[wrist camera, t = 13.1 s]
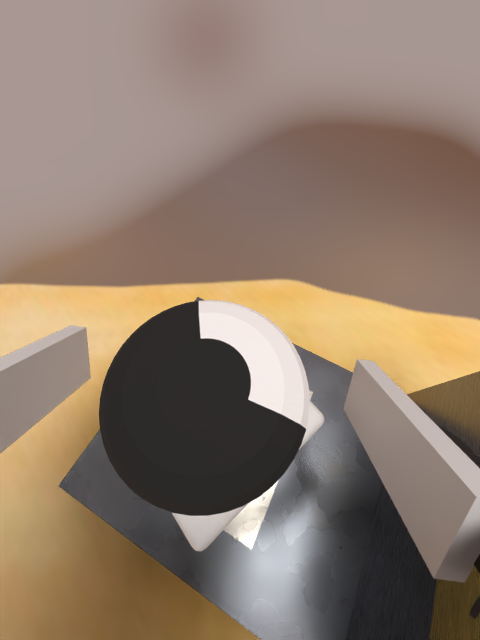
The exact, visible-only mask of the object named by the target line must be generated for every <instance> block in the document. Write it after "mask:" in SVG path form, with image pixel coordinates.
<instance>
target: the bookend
mask: <svg viewBox="0 0 480 640" xmlns="http://www.w3.org/2000/svg"><path fill="white" fill-rule="evenodd" d="M195 301H204V300H203V299H201V298H199V297H197V299H196V300H195ZM195 301H194V302H195ZM292 344H293V343H292ZM293 345H294V347H295V349H296V351H297V353H298V354H299V356H300V358H301V361H302V364H303V366H304V369H305V372H306V376H307V381H308V386H309V396H310V401H311V402H312V403H313V404H314V405H315V406H316V407H317V409H318V410H319V411H320V412H321V413H322V414H323V416H324V422H323V424H322V426H321V427H320V428H319V429H318V430H317V431H316V432H315V433H314V434H313V435H312V436H311V438H310V439H309V440H308V441H307V442H306V443H305V444H304V445H303V446H302V447H301V448H300V449H299V450H298V452H297V455H296V457H295V459H294V460H293V462H292V463H291V465H290V466H289V468H288V469H287V471H286V472H285V473H284V475H283V476H282V477H281V478H280V479H279V480H278V481H277V482H276V483H275V484H274V485H273V486H272V487H271V488H270V489H269V490H267V491H266V492H265V493H264V494H262V495H261V496H260V497H258V498H257V499H255V500H253V501H251V502H250V503H248V505H247V506H246V507H245V508H244V509H243V510H242V511H241V512H240V513H239V514H238V515H237V516H236V517H235V518H234V519H233V520H232V522H231V523H230V524H229V525H228V526H227V527H226V528H225V529H224V530H223V531H222V532H221V533H220V534H219V535H218V536H217V537H216V539H215V540H214V541H213V542H212V543H211V544H210V545H209V546H208V547H207V548H206V549H204V550H203V551H195V550H194V549H193V548H192V546H191V545H190V543H189V541H188V540H187V538H186V536H185V535H184V533H183V531H182V530H181V528H180V526H179V524H178V523H177V521H176V519H175V518H174V516H173V514H172V513H171V512H169V511H166V510H163V509H161V508H158V507H156V506H154V505H152V504H150V503H149V502H147V501H145V500H143V499H142V498H141V497H139V496H138V495H137V494H136V493H135V492H133V491H132V490H131V489H130V488H129V487H128V486H127V485H126V484H125V483H124V481H123V480H122V479H121V478H120V477H119V476H118V474H117V472H116V471H115V469H114V467H113V466H112V464H111V462H110V460H109V458H108V455H107V453H106V450H105V448H104V445H103V440H102V436H101V432H100V430H99V431H98V433H97V434H96V436H95V437H94V438H93V440H92V441H91V442H90V444H89V445H88V446H87V448H86V449H85V450H84V452H83V453H82V454H81V456H80V457H79V459H78V460H77V461H76V463H75V464H74V465H73V467H72V468H71V469H70V471H69V472H68V473H67V475H66V476H65V478H64V479H63V480H62V482H61V483H60V484H59V487H61V488H62V489H63V490H65V491H66V492H67V493H68V494H70V495H71V496H72V497H74V498H75V499H76V500H78V501H79V502H80V503H82V504H83V505H84V506H86V507H87V508H88V509H90V510H91V511H92V512H94V513H95V514H96V515H97V516H99V517H100V518H101V519H103V520H104V521H105V522H107V523H108V524H109V525H111V526H112V527H113V528H115V529H116V530H117V531H119V532H120V533H121V534H122V535H124V536H125V537H126V538H128V539H129V540H130V541H132V542H133V543H134V544H136V545H137V546H138V547H140V548H141V549H142V550H144V551H145V552H146V553H147V554H149V555H150V556H151V557H153V558H154V559H155V560H157V561H158V562H159V563H161V564H162V565H163V566H165V567H166V568H167V569H169V570H170V571H171V572H172V573H174V574H175V575H176V576H178V577H179V578H180V579H182V580H183V581H184V582H186V583H187V584H188V585H190V586H191V587H192V588H194V589H195V590H196V591H198V592H199V593H200V594H201V595H203V596H204V597H205V598H207V599H208V600H209V601H211V602H212V603H213V604H215V605H216V606H217V607H219V608H220V609H221V610H223V611H224V612H225V613H226V614H228V615H229V616H230V617H232V618H233V619H234V620H236V621H237V622H238V623H240V624H241V625H242V626H244V627H245V628H246V629H248V630H249V631H250V632H251V633H253V634H254V635H255V636H257V637H258V638H259V639H261V640H480V613H479V615H478V616H477V618H476V619H474V618H473V617H472V616H470V615H469V614H470V611H471V608H472V606H473V605H474V603H475V601H476V600H477V598H478V597H479V595H480V573H479V572H478V570H477V569H476V567H475V566H474V568H473V569H472V571H471V573H470V574H469V576H468V578H467V579H466V581H465V583H464V582H457V581H450V580H442V579H435V578H433V576H432V574H431V573H430V571H429V569H428V567H427V565H426V563H425V561H424V559H423V558H422V556H421V554H420V552H419V550H418V548H417V546H416V544H415V542H414V541H413V539H412V537H411V535H410V533H409V531H408V529H407V527H406V526H405V524H404V522H403V520H402V518H401V516H400V514H399V512H398V510H397V509H396V507H395V505H394V503H393V501H392V499H391V497H390V495H389V494H388V492H387V490H386V488H385V486H384V484H383V482H382V480H381V478H380V477H379V475H378V473H377V471H376V469H375V467H374V465H373V463H372V462H371V460H370V458H369V456H368V454H367V452H366V450H365V448H364V446H363V445H362V443H361V441H360V439H359V437H358V435H357V433H356V431H355V430H354V428H353V426H352V424H351V422H350V420H349V418H348V416H347V414H346V413H345V411H344V405H345V401H346V398H347V394H348V390H349V387H350V383H351V379H352V376H353V373H352V372H350V371H348V370H346V369H344V368H342V367H340V366H338V365H336V364H334V363H332V362H330V361H328V360H326V359H324V358H322V357H320V356H318V355H316V354H313V353H311V352H309V351H307V350H305V349H303V348H301V347H299V346H297V345H295V344H293ZM407 396H408V397H409V398H410V399H411V400H412V401H413V402H414V403H415V404H416V405H417V406H418V407H419V408H420V409H421V410H422V411H423V412H424V413H425V414H426V415H427V416H428V417H429V418H430V419H431V420H432V421H433V422H434V423H435V424H436V425H437V426H438V427H443V428H444V429H446V430H447V431H449V432H450V433H452V434H453V435H455V436H456V437H458V438H459V439H461V440H462V441H463V442H464V443H465V444H466V445H467V446H468V447H469V448H470V449H471V450H472V451H473V452H474V455H477V456H478V457H479V458H480V371H479V372H476V373H473V374H470V375H467V376H464V377H460V378H457V379H454V380H451V381H448V382H445V383H442V384H438V385H435V386H432V387H429V388H426V389H423V390H420V391H417V392H413V393H410V394H407Z"/></svg>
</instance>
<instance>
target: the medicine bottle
mask: <svg viewBox="0 0 480 640" xmlns="http://www.w3.org/2000/svg"><path fill="white" fill-rule="evenodd" d="M99 421H100V432H101V436H102V440H103V445H104V448H105V450H106V453H107V455H108V458H109V460H110V462H111V464H112V466H113V467H114V469H115V471H116V472H117V474H118V476H119V477H120V478H121V479H122V480H123V481H124V483H125V484H126V485H127V486H128V487H129V488H130V489H131V490H132V491H133V492H135V493H136V494H137V495H138V496H139V497H141V498H142V499H143V500H145V501H147V502H149V503H150V504H152V505H154V506H156V507H158V508H161V509H163V510H166V511H169V512H171V513H172V514H173V516H174V518H175V519H176V521H177V523H178V524H179V526H180V528H181V530H182V531H183V533H184V535H185V536H186V538H187V540H188V541H189V543H190V545H191V546H192V548H193V549H194V550H195V551H203V550H204V549H206V548H207V547H208V546H209V545H210V544H211V543H212V542H213V541H214V540H215V539H216V537H217V536H218V535H219V534H220V533H221V532H222V531H223V530H224V529H225V528H226V527H227V526H228V525H229V524H230V523H231V522H232V520H233V519H234V518H235V517H236V516H237V515H238V514H239V513H240V512H241V511H242V510H243V509H244V508H245V507H246V506H247V505H248V503H250V502H251V501H253V500H255V499H257V498H258V497H260V496H261V495H262V494H264V493H265V492H266V491H267V490H269V489H270V488H271V487H272V486H273V485H274V484H275V483H276V482H277V481H278V480H279V479H280V478H281V477H282V476H283V475H284V473H285V472H286V471H287V469H288V468H289V466H290V465H291V463H292V462H293V460H294V459H295V457H296V455H297V452H298V450H299V449H300V448H301V447H302V446H303V445H304V444H305V443H306V442H307V441H308V440H309V439H310V438H311V436H312V435H313V434H314V433H315V432H316V431H317V430H318V429H319V428H320V427H321V426H322V424H323V422H324V416H323V414H322V413H321V412H320V411H319V410H318V409H317V407H316V406H315V405H314V404H313V403H312V402H311V401H310V396H309V386H308V381H307V376H306V372H305V369H304V366H303V364H302V361H301V358H300V356H299V354H298V353H297V351H296V349H295V347H294V345H293V344H292V343H291V341H290V340H289V338H288V337H287V336H286V335H285V334H284V332H283V331H282V330H281V329H280V328H279V327H278V326H277V325H275V324H274V323H273V322H272V321H271V320H269V319H268V318H267V317H265V316H263V315H262V314H260V313H259V312H257V311H255V310H252V309H250V308H248V307H246V306H242V305H239V304H236V303H232V302H226V301H217V300H204V301H195V302H189V303H185V304H181V305H178V306H175V307H172V308H170V309H167V310H165V311H163V312H161V313H159V314H158V315H156V316H154V317H152V318H151V319H149V320H148V321H147V322H145V323H144V324H143V325H141V326H140V327H139V328H138V329H137V330H136V331H135V332H134V333H133V334H132V335H131V336H130V337H129V338H128V339H127V340H126V342H125V343H124V344H123V345H122V347H121V348H120V350H119V351H118V353H117V354H116V356H115V357H114V359H113V361H112V363H111V365H110V367H109V369H108V372H107V375H106V377H105V380H104V383H103V387H102V392H101V397H100V408H99Z"/></svg>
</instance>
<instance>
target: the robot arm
mask: <svg viewBox="0 0 480 640" xmlns="http://www.w3.org/2000/svg"><path fill="white" fill-rule="evenodd" d="M90 378H91V376H90V365H89V354H88V342H87V331H86V327H79V326H68V327H66V328H64V329H62V330H60V331H58V332H55V333H53V334H51V335H49V336H47V337H44V338H42V339H40V340H38V341H36V342H34V343H31V344H29V345H27V346H25V347H23V348H21V349H18V350H16V351H14V352H12V353H10V354H7V355H5V356H3V357H1V358H0V453H2V452H3V451H4V450H5V449H6V448H7V447H9V446H10V445H11V444H12V443H13V442H15V441H16V440H17V439H18V438H19V437H21V436H22V435H23V434H24V433H25V432H27V431H28V430H29V429H30V428H31V427H33V426H34V425H35V424H36V423H37V422H39V421H40V420H41V419H42V418H43V417H45V416H46V415H47V414H48V413H49V412H51V411H52V410H53V409H54V408H55V407H57V406H58V405H59V404H60V403H61V402H63V401H64V400H65V399H66V398H67V397H69V396H70V395H71V394H72V393H73V392H74V391H76V390H77V389H78V388H79V387H80V386H82V385H83V384H84V383H85V382H86V381H88V380H89V379H90ZM344 411H345V413H346V414H347V416H348V418H349V420H350V422H351V424H352V426H353V428H354V430H355V431H356V433H357V435H358V437H359V439H360V441H361V443H362V445H363V446H364V448H365V450H366V452H367V454H368V456H369V458H370V460H371V462H372V463H373V465H374V467H375V469H376V471H377V473H378V475H379V477H380V478H381V480H382V482H383V484H384V486H385V488H386V490H387V492H388V494H389V495H390V497H391V499H392V501H393V503H394V505H395V507H396V509H397V510H398V512H399V514H400V516H401V518H402V520H403V522H404V524H405V526H406V527H407V529H408V531H409V533H410V535H411V537H412V539H413V541H414V542H415V544H416V546H417V548H418V550H419V552H420V554H421V556H422V558H423V559H424V561H425V563H426V565H427V567H428V569H429V571H430V573H431V574H432V576H433V578H435V579H442V580H450V581H457V582H464V583H465V581H466V579H467V578H468V576H469V574H470V573H471V571H472V569H473V568H474V566H475V567H476V569H477V570H478V572H479V573H480V458H479V457H478V456H477V455H474V452H473V451H472V450H471V449H470V448H469V447H468V446H467V445H466V444H465V443H464V442H463V441H462V440H461V439H459V438H458V437H456V436H455V435H453V434H452V433H450V432H449V431H447V430H446V429H444V428H443V427H438V426H437V425H436V424H435V423H434V422H433V421H432V420H431V419H430V418H429V417H428V416H427V415H426V414H425V413H424V412H423V411H422V410H421V409H420V408H419V407H418V406H417V405H416V404H415V403H414V402H413V401H412V400H411V399H410V398H409V397H408V396H407V395H406V394H405V393H404V392H403V391H402V390H401V389H400V388H399V387H398V385H397V384H396V383H395V382H394V381H393V380H392V379H391V378H390V377H389V376H388V375H387V374H386V373H385V372H384V371H383V370H382V369H381V368H380V367H379V366H378V365H377V364H376V363H375V362H374V361H368V360H359V359H357V361H356V365H355V368H354V372H353V376H352V379H351V383H350V387H349V390H348V394H347V398H346V401H345V405H344ZM479 613H480V595H479V597H478V598H477V600H476V601H475V603H474V605H473V606H472V608H471V611H470V614H469V615H470V616H472V617H473V618H474V619H476V618H477V616H478V615H479Z"/></svg>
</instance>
